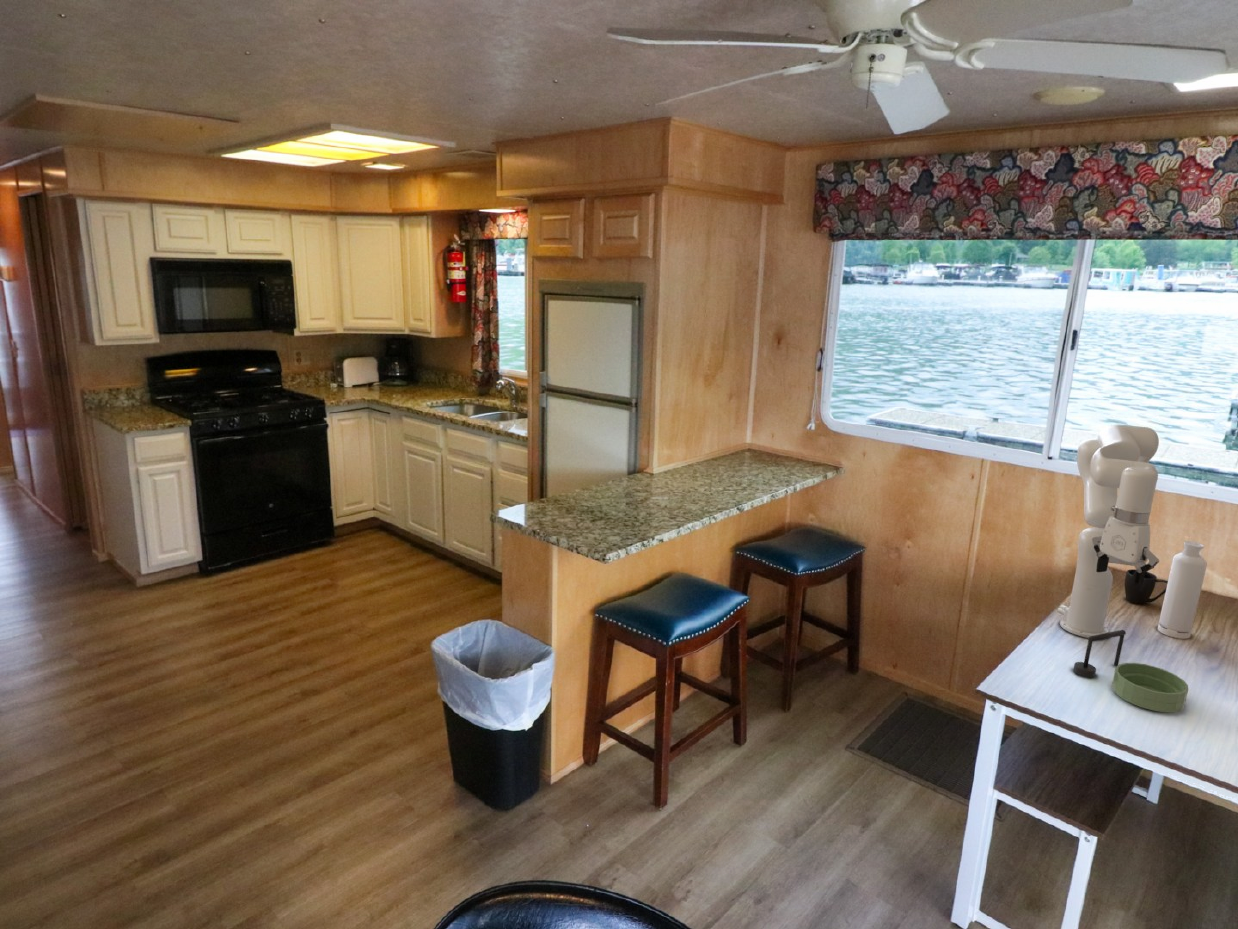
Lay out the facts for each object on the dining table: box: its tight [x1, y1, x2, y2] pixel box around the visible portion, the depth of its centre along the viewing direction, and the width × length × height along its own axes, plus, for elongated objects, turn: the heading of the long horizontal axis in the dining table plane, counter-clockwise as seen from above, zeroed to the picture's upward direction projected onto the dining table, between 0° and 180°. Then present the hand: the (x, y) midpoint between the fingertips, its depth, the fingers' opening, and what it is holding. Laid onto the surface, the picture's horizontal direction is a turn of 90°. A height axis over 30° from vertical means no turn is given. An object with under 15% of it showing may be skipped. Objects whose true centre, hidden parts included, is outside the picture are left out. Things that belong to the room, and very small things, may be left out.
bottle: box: [1157, 540, 1208, 640], centre depth 229 cm, size 8×8×28 cm
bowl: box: [1111, 662, 1189, 713], centre depth 195 cm, size 15×15×6 cm
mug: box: [1124, 568, 1168, 606], centre depth 252 cm, size 8×12×10 cm
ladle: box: [1072, 629, 1127, 679], centre depth 208 cm, size 15×5×11 cm, turn 112°
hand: (1118, 578), depth 203 cm, fingers open, 9 cm apart
